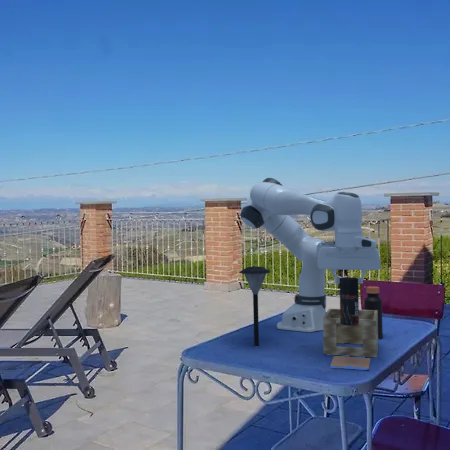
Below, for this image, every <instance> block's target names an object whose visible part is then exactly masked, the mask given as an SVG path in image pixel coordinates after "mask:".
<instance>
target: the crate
mask: <svg viewBox="0 0 450 450" xmlns="http://www.w3.org/2000/svg"><path fill="white" fill-rule="evenodd" d="M322 332H323V334H322V340H323V343H322V344H323V355H324V354H330V355H329V356H334V355H349V356H348V357H350V356H365V357H377V358H378V351H379V350H378V349H379V339H378V310H364V309H359V325H354V326H347V325H342V324H340V308H328V310H326V314H325V316H324V318H323V330H322ZM344 343H350V344H349V345H361V344H363V345H362V347H353V346H351V347H350V346H338V344H344ZM365 357H364V358H365Z"/></svg>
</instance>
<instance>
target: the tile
mask: <svg viewBox="0 0 450 450" xmlns="http://www.w3.org/2000/svg"><path fill="white" fill-rule="evenodd" d="M369 364H371V358H365V357H350V356H334V355H333V358H332V361H331V363H330V365H329V367H330V366H337V367H346V366H352V367H362V368H363V367H364V368H367V369H369V370H370V365H369Z"/></svg>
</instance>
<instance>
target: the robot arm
mask: <svg viewBox="0 0 450 450" xmlns="http://www.w3.org/2000/svg"><path fill="white" fill-rule="evenodd" d="M249 196H250V197H249V199H248V200H247V201H246V203H245V205H244V206H243V207H242V209H241V211H240V213H239V215H240V219H241V220H242V222H243V224H245V225H247V227H250V228H252V229H260V228H261V227H262V228H264V229H265V230H266V231H267V233H269V234H270V235H272V236H273V237H274V238H275V239H276V240H278V241H279V242H280V243H281V244H282V245H283V246H284V247H285V248H286V249H287V250H288V251H289V252H290V253H291V254H292V255H293V256H294V257H295V258H296V259H298V260H299V261H300V262H302V266H301V271H300V274H299V276H298V293H296V294H295V295H294V297H293V298H294V303H293V304H292V305H291V306H289V307H288V308H287V309H285V311H284V312H283V314H282V317H281V321H279V322H277V324H276V328H277V330H283V331H285V330H286V331H293V332H294V331H296V332H303V333H312V332H313V333H314V332H317V331H323V318H324V316H325V314H326V313H327V309H326V307H327V296H326V292H325V291H326V290H325V284H326V282H325V278H326V277H325V276H326V271H327V270H331V274H332V276H333V277H334V283H335V284H340V278H341V277H339V276H338V275H337V274H336V273H337V270H344V271H345V270H347V271H348V270H349V271H361V274H362V275H361V276H360V277H357V278H358V285H359V284H364V277H365V276H366V274H367V271H379V270H380V269H381V265H382V264H381V255H380V251H379V249H378V248H377V247H376V246H377V240H375V239H374V238H373V239H372V238H369V237H367V236H363V230H362V221H363V210H362V209H363V208H362V202H361V201H362V200H361V197H360V196H359V195H358V194H356V193H353V192H349V191H348V192H345V191H340V192H339V191H338V192H337V193H335V195H334V196H333V197H331V198H329V199H328V200H322V199H319V198H315V197H312V196H309V195H307V194H304V193H301V192H299V191H296V190H293V189H292V188H289V187H287V186H284V185H283V184H282V183H281V182H280V181H279V180H277V179H276V178H273V177H266V178H265V179H264V180H263V181H260V182H256V183H255V184H254V185H252V187H251V189H250V192H249ZM296 215H309V216H310V218H309V220H310V223H311V225H312V226H313V228H314V229H315V230H318V231H320V232H323V231H324V232H331V231H334V240H333V241H325V240H323V239H322V238H316V237H312V236H310V235H309V234H308V233H307V231H305V230H304V229H303V227H302V226H301V224H300V223H299V222H297V221H296V220H295V219H294V218H293V217H292V216H296Z"/></svg>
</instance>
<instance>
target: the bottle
mask: <svg viewBox="0 0 450 450" xmlns="http://www.w3.org/2000/svg"><path fill="white" fill-rule="evenodd" d="M366 295H367V296H366V297H365V298H364V300H363V301H364V303H363V305H364V307H363V308H364V309H363V310H378V340H379V339H380V340H381V339H382V338H383V335H384V334H383V301H382V298H381V297H380V296H379V295H380V287H379V286H370V285H369V286H366Z"/></svg>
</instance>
